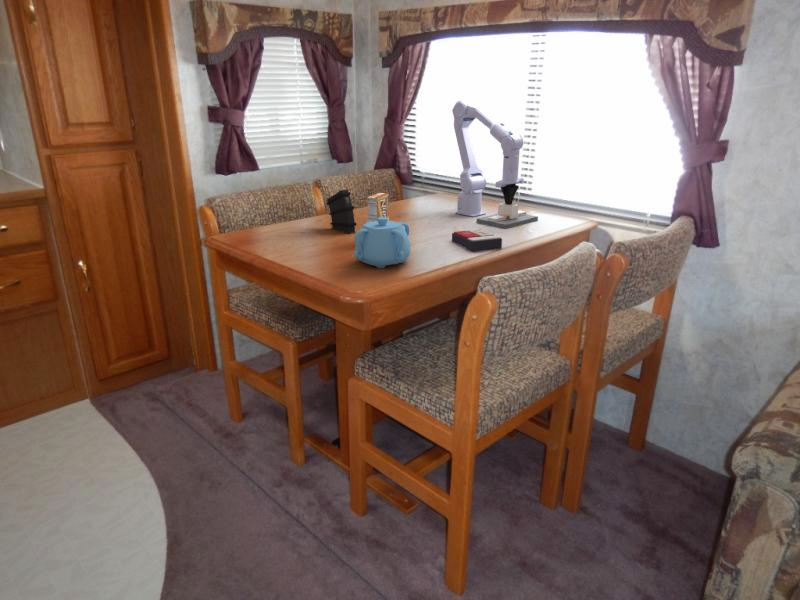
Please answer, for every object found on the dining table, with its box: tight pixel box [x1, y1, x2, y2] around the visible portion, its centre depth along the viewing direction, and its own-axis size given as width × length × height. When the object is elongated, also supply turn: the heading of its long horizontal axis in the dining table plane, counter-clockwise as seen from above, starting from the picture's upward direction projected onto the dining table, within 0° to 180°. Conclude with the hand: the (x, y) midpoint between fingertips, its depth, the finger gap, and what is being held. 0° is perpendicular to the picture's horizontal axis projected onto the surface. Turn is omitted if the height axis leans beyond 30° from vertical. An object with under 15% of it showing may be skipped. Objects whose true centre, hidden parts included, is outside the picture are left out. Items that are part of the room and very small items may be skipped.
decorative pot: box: [353, 217, 412, 269], centre depth 168 cm, size 16×16×14 cm
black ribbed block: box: [326, 188, 357, 235], centre depth 206 cm, size 4×13×15 cm, turn 40°
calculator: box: [451, 228, 503, 253], centre depth 188 cm, size 11×4×15 cm
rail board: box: [476, 209, 539, 230], centre depth 219 cm, size 14×20×3 cm
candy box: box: [366, 192, 390, 222], centre depth 192 cm, size 9×4×15 cm, turn 156°
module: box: [497, 202, 520, 219], centre depth 218 cm, size 6×4×5 cm, turn 42°
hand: (508, 204), depth 217 cm, fingers closed, pressing on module
